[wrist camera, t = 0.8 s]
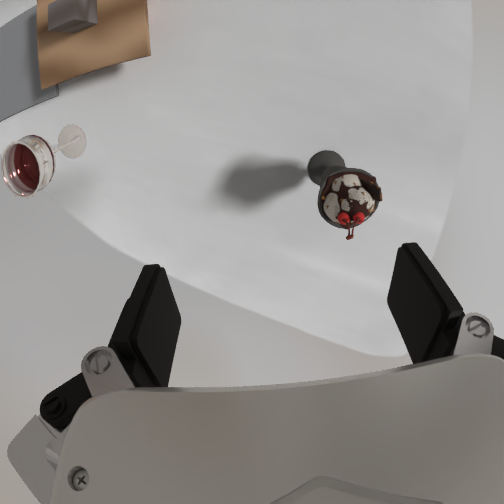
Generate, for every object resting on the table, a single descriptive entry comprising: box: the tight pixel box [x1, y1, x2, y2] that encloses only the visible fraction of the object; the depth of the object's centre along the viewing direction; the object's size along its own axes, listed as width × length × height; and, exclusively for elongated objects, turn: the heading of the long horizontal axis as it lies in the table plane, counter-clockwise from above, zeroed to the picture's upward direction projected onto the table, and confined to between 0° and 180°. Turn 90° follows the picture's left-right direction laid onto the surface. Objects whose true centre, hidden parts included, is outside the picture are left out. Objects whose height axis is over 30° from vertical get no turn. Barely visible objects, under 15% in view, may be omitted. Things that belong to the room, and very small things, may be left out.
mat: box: [0, 5, 59, 121], centre depth 26 cm, size 16×14×1 cm
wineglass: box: [1, 125, 86, 198], centre depth 29 cm, size 7×7×12 cm
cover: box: [37, 0, 151, 89], centre depth 18 cm, size 14×14×6 cm
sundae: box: [308, 151, 382, 240], centre depth 31 cm, size 7×7×15 cm
